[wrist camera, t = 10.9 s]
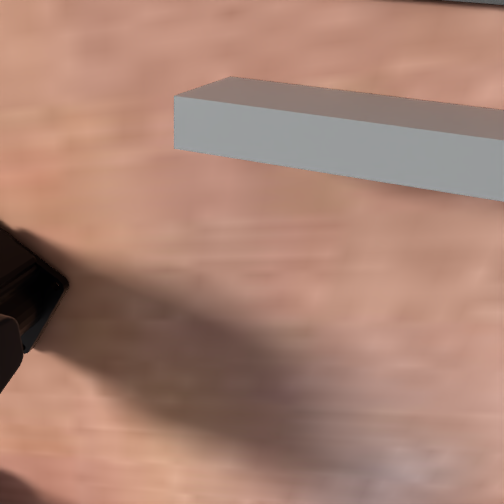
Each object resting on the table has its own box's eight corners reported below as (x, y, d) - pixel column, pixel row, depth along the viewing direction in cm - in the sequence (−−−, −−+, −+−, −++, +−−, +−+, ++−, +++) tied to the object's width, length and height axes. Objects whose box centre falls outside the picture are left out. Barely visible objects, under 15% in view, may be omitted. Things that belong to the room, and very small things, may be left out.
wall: (816, 148, 14) (1006, 208, 9) (785, 196, 14) (949, 273, 10) (230, 76, 17) (174, 95, 13) (228, 117, 18) (174, 148, 14)
